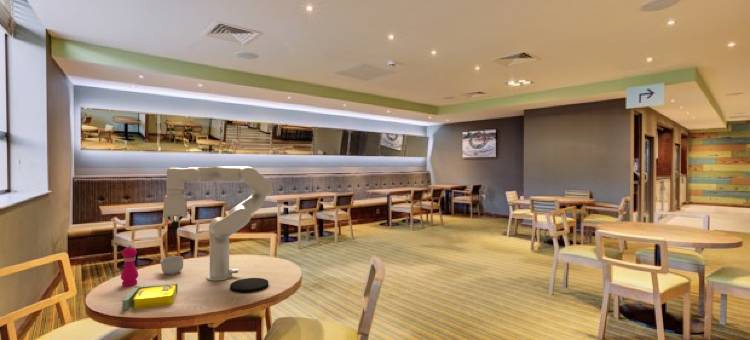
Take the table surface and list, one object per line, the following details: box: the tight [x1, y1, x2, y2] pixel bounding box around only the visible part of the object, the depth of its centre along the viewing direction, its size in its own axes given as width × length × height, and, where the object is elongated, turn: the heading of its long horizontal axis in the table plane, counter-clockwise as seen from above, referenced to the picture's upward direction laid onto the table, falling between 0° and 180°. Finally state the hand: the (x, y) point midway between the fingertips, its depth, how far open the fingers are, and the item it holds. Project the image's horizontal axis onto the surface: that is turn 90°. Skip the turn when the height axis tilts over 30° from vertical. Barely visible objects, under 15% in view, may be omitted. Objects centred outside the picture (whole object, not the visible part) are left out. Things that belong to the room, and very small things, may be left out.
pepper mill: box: [120, 244, 139, 288], centre depth 186 cm, size 7×7×20 cm
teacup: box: [159, 255, 184, 276], centre depth 207 cm, size 14×11×8 cm
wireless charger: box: [229, 277, 269, 294], centre depth 185 cm, size 18×18×2 cm
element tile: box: [132, 285, 177, 310], centre depth 165 cm, size 15×15×5 cm
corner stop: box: [121, 282, 179, 311], centre depth 166 cm, size 17×18×4 cm
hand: (175, 229), depth 187 cm, fingers closed
